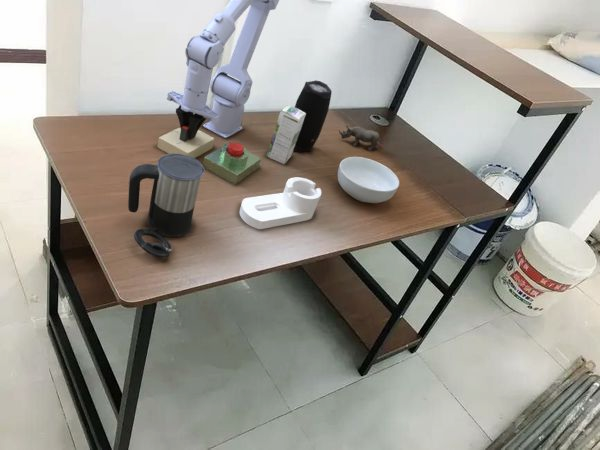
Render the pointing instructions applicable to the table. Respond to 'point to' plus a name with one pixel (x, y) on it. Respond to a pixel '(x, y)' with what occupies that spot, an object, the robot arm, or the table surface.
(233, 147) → the button
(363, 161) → the cereal bowl
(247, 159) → the push button base
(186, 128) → the block
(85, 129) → the table surface
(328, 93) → the portable speaker
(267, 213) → the bracket
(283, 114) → the syrup box
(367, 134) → the rhino figurine
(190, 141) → the dial panel
